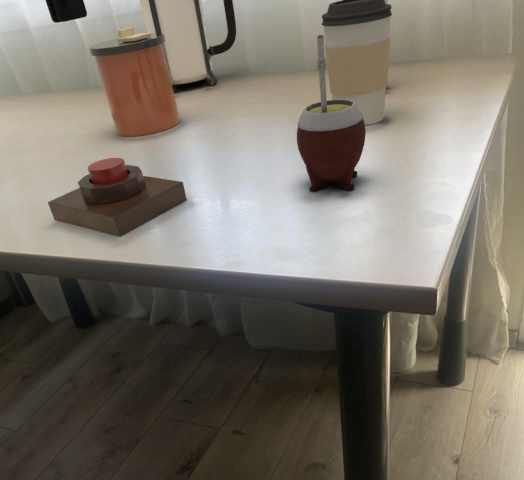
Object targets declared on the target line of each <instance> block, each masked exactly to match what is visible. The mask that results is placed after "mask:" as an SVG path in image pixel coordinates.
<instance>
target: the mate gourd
mask: <svg viewBox="0 0 524 480" xmlns="http://www.w3.org/2000/svg"><path fill="white" fill-rule="evenodd" d="M316 42H317V45H316V46H317V60H316V68H317V71H318V79H319V93H320V94H319V95H320V96H319V97H320V101H317V102H315V103H314V102H313V103H311V104H309V105H307V106H306V107H305V108H303V111H302V113H301V114H300V116H299V119H298V122H297V129H296V144H297V150H298V152H299V154H300V155H299V156H300V157H301V159H302V161H303V164H304V165H305V169H306V172H307V175H308V178H309V180H310V184H311V186H309V187H308V190H309V192H310V193H317V192H321V191H322V190H325V189H327V188H331V187H336V188H339V189H341V190H344V191H348V192H352V191H354V190H355V187H356V185H355V184H353V183H352V179H354V178H356V177H358V171H357V170H355V169H356V167H357V165H358V164H359V162H360V160H361V157H362V155H363V152H364V147H365V143H366V142H365V141H366V134H367V130H366V126H365V123H364V119H363V114H362V112H361V110H360V109H359V107H358V106H357V105H356V103H354V102H353V101H351V100H333V99H328V100H327V83H326V82H327V81H326V80H327V79H326V70H327V59H326V57H325V35H323V34H318V35H317V37H316Z"/></svg>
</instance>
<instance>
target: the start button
mask: <svg viewBox="0 0 524 480" xmlns="http://www.w3.org/2000/svg"><path fill="white" fill-rule="evenodd" d="M126 165H127V164H126V161H125V159H124V158H123V157H109V158H105V159H104V158H103V159H101V160H97V161H94V162H93V163H91V164H90V165H88V166H87V171H88V174H90V177H91V180H92V183H93V184H105V183H111V182H115V181H118V180H121V179H123V178H125V177H127V176H128V172H127V168H126Z"/></svg>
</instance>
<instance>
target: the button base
mask: <svg viewBox="0 0 524 480" xmlns="http://www.w3.org/2000/svg"><path fill="white" fill-rule="evenodd" d="M125 165H126V168H127V172H128V176H127V177H125V178H123V179H121V180H118V181H115V182H111V183H105V184H93V183H92V180H91V177H90V174H89V173H88V174H86V175H84V176H83V177H81V178H80V179H79V180H78V181H77V184H78V188H75V189H74V190H71V191H70V192H67V193H65V194H63V195H60V196H58V197H56V198H54V199H51V200H49V201H47V205H48V207H49V210H50V212H51V214H52V217H53V219H54V221H58V222H62V223H64V224H68V225H72V226H75V227H80V228H83V229H88V230H93V231H96V232H98V233H99V232H100V233H104V234H108V235H110V236H116V237H119V238H122V237H123V236H125V235H126V234H128V233H131V232H132V231H134V230H136V229H137V228H139V227H141V226H143V225H145V224H147V223H148V222H150V221H152V220H154V219H156V218H157V217H160V216H161V215H163V214H164V213H165V214H166V213H167V212H168V211H170V210H173V209H174V208H175V207H177V206H179V205H182V204H183V203H185V202H186V201H188V198H187V194H186V189H185V185H184V182H183V181H180V180H173V179H167V178H161V177H153V176H147V175H144V174H143V171H142V169H141V168H140V167H139V165H138V166H137V165H132V164H125Z"/></svg>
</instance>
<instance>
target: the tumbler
mask: <svg viewBox="0 0 524 480" xmlns="http://www.w3.org/2000/svg"><path fill="white" fill-rule="evenodd" d="M151 35H152V36H151V37H148V38H144V39H141V40H137V41H129V42H118V40H117V38H115V39H111V40H106V41H103V42H99V43H95V44H93V45H91V46H89V47H88V50H89V54H90V56H92V57H94V59H95V63H96V67H97V71H98V74H99V77H100V80H101V84H102V87H103V91H104V94H105V97H106V101H107V104H108V107H109V111H110V114H111V115H110V116H111V118H112V121H113V124H114V128H115V132H116V134H117V136H120V137H139V136H146V135H152V134H157V133H159V132H163V131H166V130H168V129H171V128H173V127H175V126H177V125H178V124H179V123H180V121H181V120H180V114H179V110H178V105H177V101H176V97H175V92H174V91H173V87H172V82H171V78H170V73H169V69H168V64H167V60H166V55H165V51H164V46H163V43H164V42H165V41H166V40H165V36H164V34H163V33H151Z"/></svg>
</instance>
